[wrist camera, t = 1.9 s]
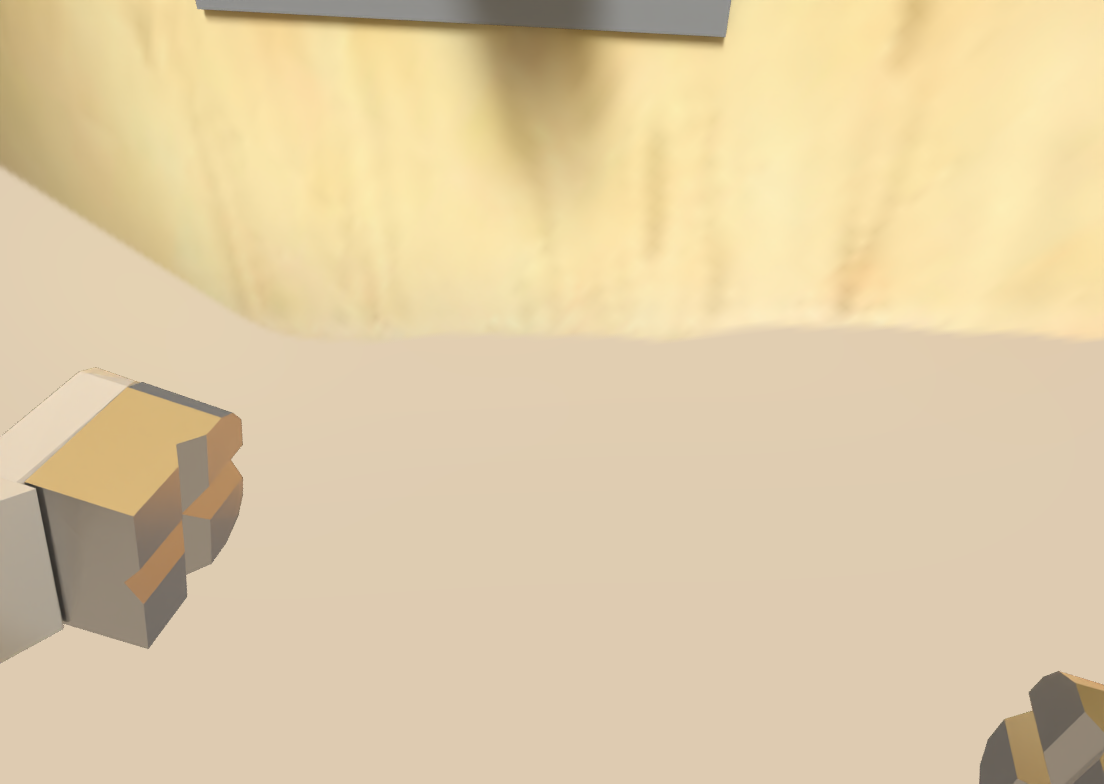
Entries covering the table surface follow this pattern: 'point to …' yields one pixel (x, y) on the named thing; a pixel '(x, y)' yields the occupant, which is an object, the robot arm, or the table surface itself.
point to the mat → (516, 12)
